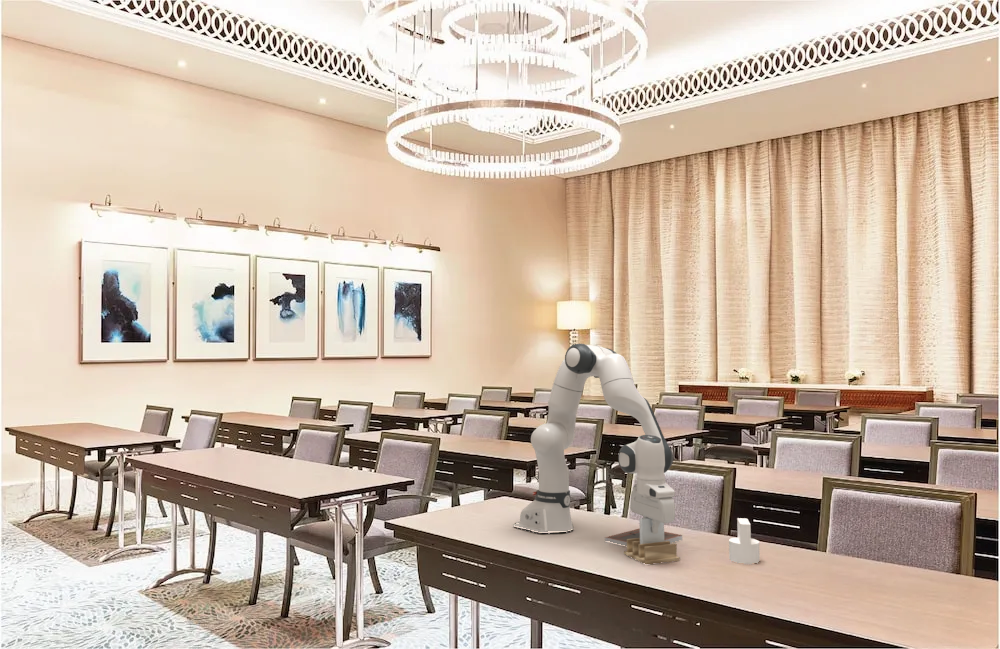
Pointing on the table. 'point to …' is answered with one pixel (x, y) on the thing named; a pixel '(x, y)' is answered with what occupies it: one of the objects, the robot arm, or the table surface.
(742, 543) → the cylinder with rectangular tab
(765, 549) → the table surface
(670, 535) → the picture frame
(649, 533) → the grey block
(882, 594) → the table surface
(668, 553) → the rack
